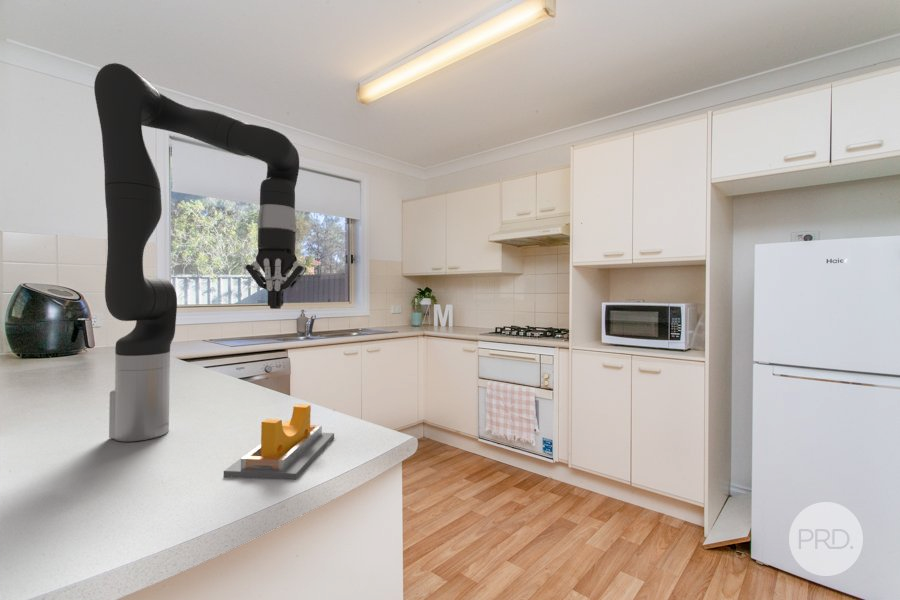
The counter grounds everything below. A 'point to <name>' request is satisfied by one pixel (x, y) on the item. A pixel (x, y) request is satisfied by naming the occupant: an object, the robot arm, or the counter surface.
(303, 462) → the mounting board
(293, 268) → the robot arm
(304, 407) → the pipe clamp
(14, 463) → the counter surface
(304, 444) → the long hollow rectangular frame
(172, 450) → the counter surface
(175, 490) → the counter surface
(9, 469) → the counter surface
